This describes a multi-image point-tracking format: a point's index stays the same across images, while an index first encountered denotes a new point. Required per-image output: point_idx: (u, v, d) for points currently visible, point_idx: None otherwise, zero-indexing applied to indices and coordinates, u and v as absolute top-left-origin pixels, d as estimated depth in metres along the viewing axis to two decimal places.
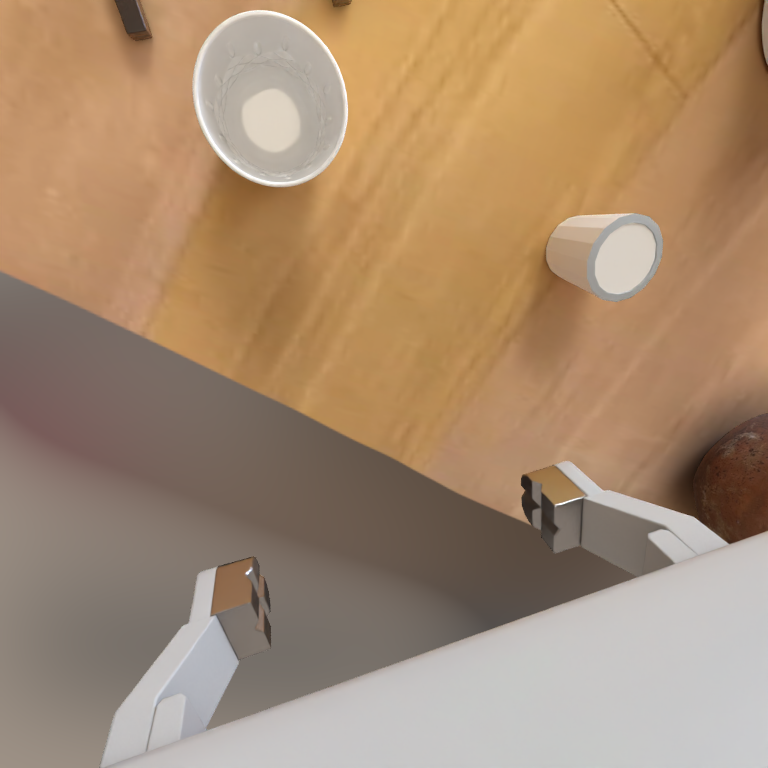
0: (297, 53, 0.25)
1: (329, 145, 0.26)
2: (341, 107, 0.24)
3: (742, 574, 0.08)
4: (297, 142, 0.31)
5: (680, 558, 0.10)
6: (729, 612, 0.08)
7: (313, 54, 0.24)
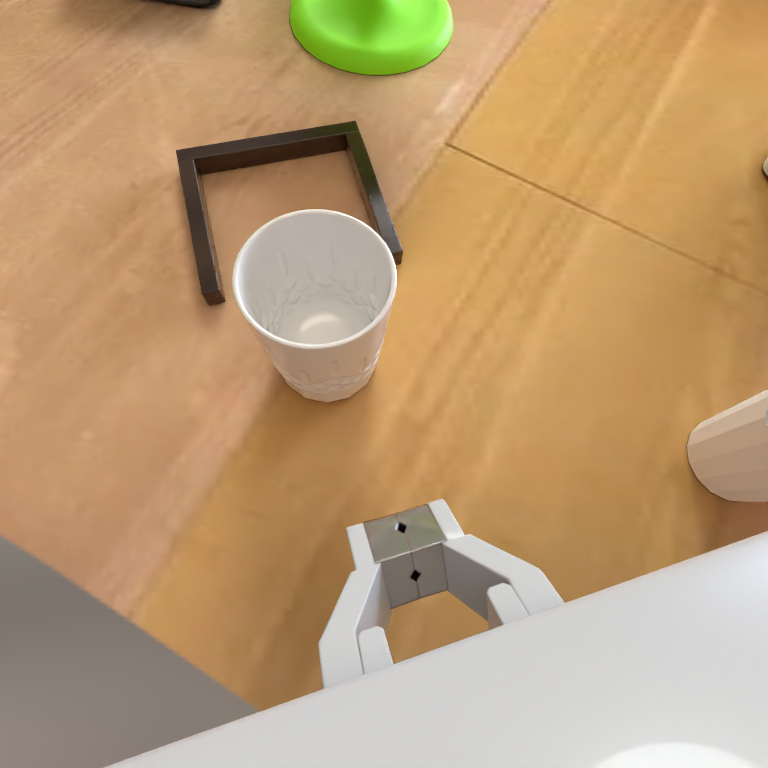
0: (347, 262, 0.26)
1: None
2: (390, 276, 0.22)
3: (742, 574, 0.08)
4: None
5: (510, 618, 0.09)
6: (729, 612, 0.08)
7: (360, 248, 0.24)
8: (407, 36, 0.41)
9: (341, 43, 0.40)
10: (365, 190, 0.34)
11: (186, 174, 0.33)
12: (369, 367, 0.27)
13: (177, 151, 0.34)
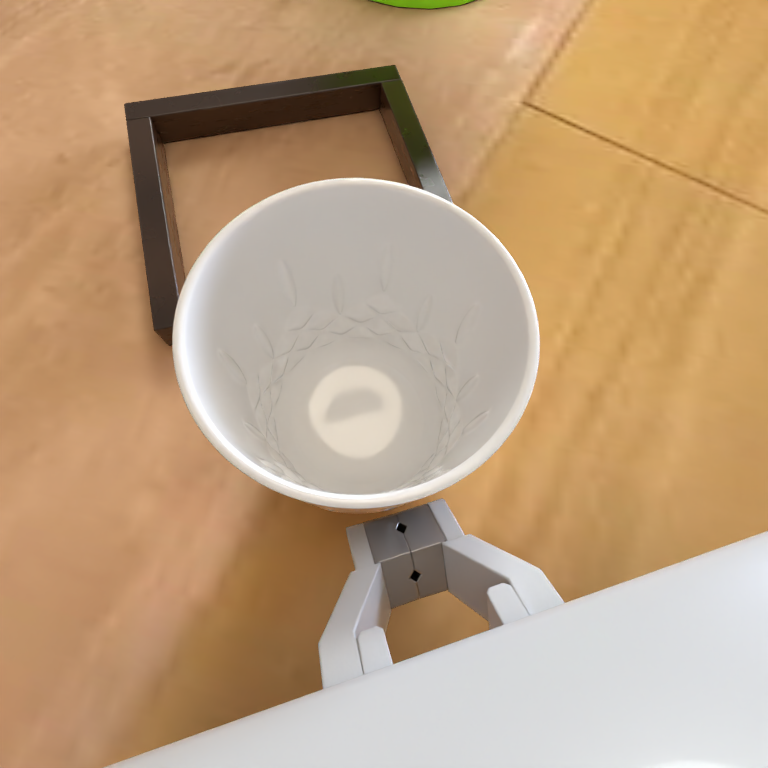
0: (407, 284, 0.14)
1: (487, 412, 0.11)
2: (516, 322, 0.10)
3: (742, 574, 0.08)
4: (401, 446, 0.17)
5: (510, 618, 0.09)
6: (729, 612, 0.08)
7: (442, 259, 0.12)
8: None
9: None
10: (413, 166, 0.22)
11: (138, 139, 0.22)
12: None
13: (126, 105, 0.22)
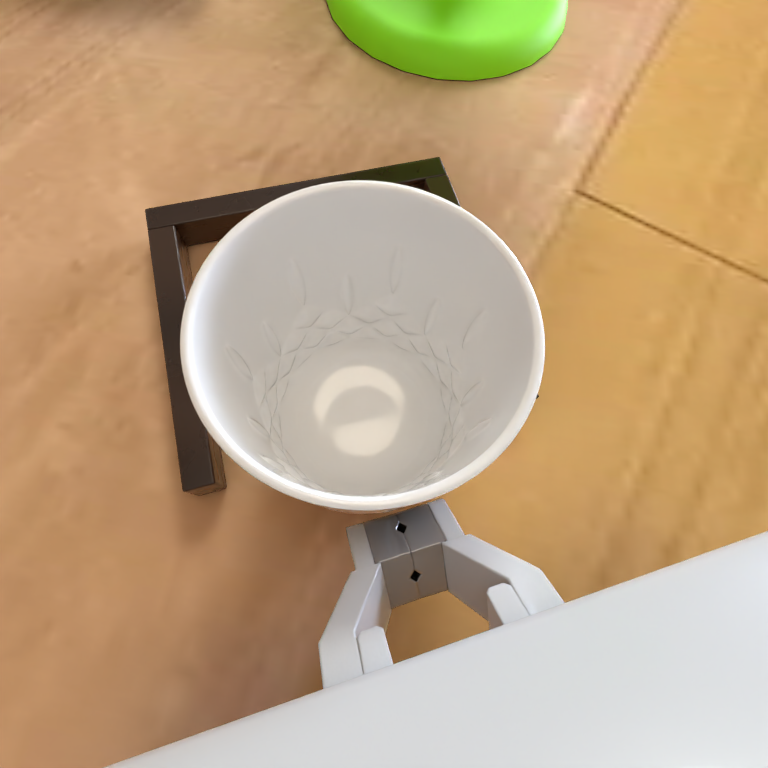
0: (416, 287, 0.14)
1: (489, 419, 0.11)
2: (523, 330, 0.10)
3: (742, 574, 0.08)
4: (404, 448, 0.17)
5: (510, 618, 0.09)
6: (729, 612, 0.08)
7: (451, 264, 0.12)
8: (506, 21, 0.27)
9: (408, 31, 0.26)
10: None
11: (161, 253, 0.20)
12: None
13: (147, 211, 0.20)
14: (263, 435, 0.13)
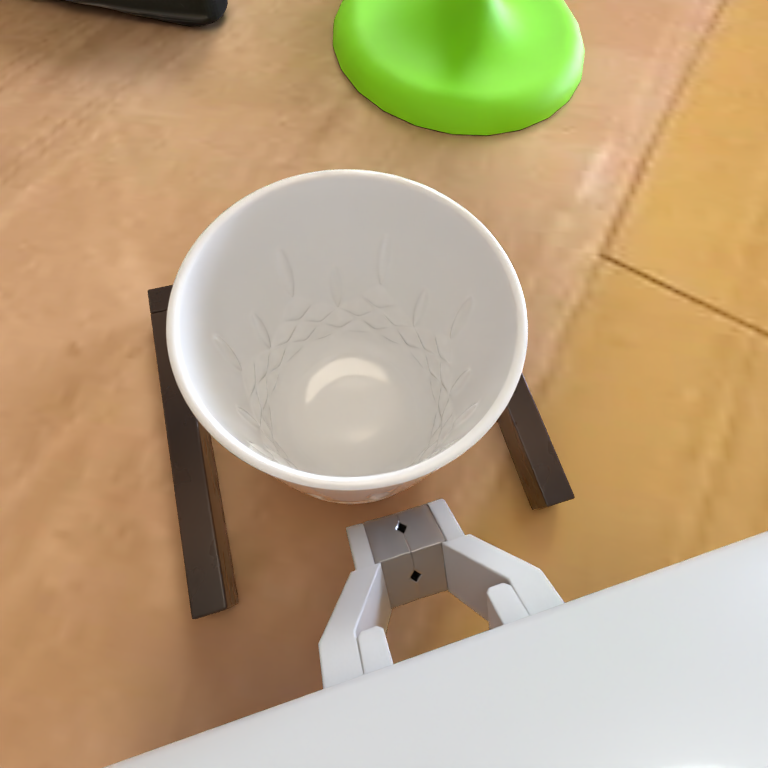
0: (403, 278, 0.14)
1: (475, 404, 0.11)
2: (507, 315, 0.10)
3: (742, 574, 0.08)
4: (395, 440, 0.17)
5: (509, 618, 0.09)
6: (729, 612, 0.08)
7: (437, 253, 0.12)
8: (523, 73, 0.26)
9: (421, 85, 0.25)
10: None
11: (165, 340, 0.18)
12: None
13: (150, 292, 0.19)
14: (252, 425, 0.13)
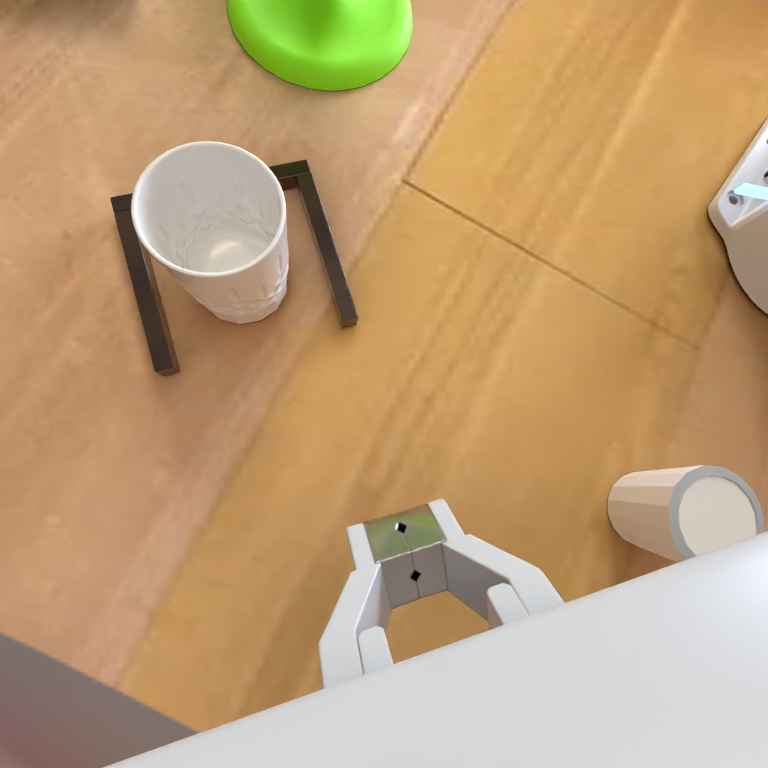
0: (251, 194, 0.28)
1: None
2: None
3: (742, 574, 0.08)
4: None
5: (510, 618, 0.09)
6: (729, 612, 0.08)
7: (259, 182, 0.26)
8: (362, 43, 0.37)
9: (288, 52, 0.36)
10: (319, 246, 0.33)
11: (125, 229, 0.31)
12: (273, 294, 0.30)
13: (112, 199, 0.31)
14: None
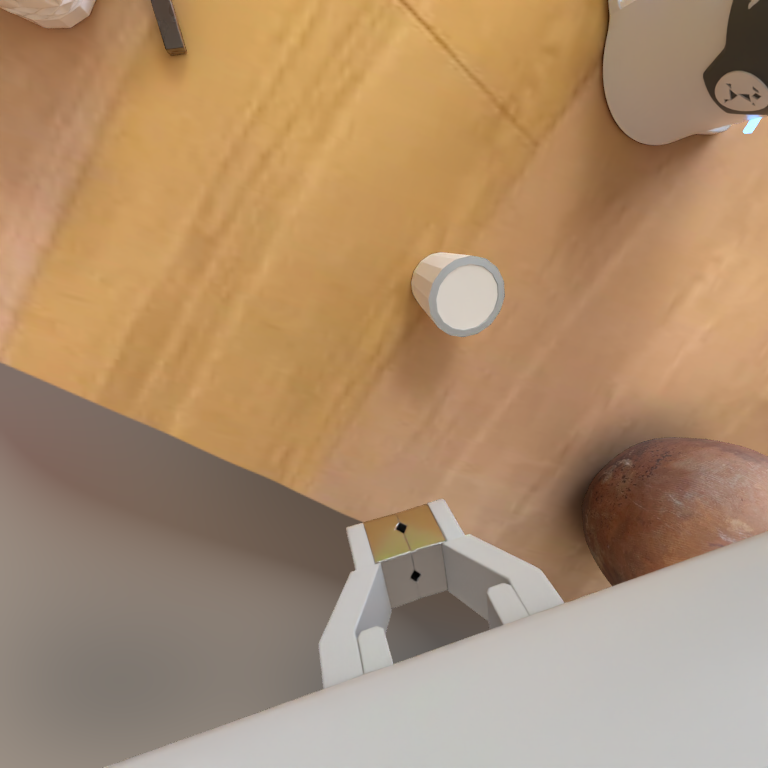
0: None
1: None
2: None
3: (742, 574, 0.08)
4: None
5: (510, 618, 0.09)
6: (729, 612, 0.08)
7: None
8: None
9: None
10: None
11: None
12: None
13: None
14: None
